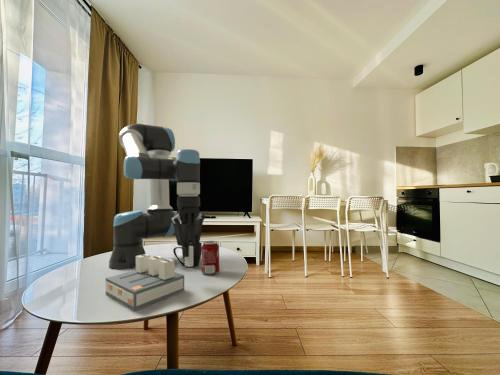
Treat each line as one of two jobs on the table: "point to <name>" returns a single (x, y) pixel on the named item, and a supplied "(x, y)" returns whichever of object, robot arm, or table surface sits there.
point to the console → (142, 288)
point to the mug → (195, 257)
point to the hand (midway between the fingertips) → (189, 265)
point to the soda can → (210, 258)
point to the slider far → (142, 263)
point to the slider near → (166, 269)
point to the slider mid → (154, 265)
